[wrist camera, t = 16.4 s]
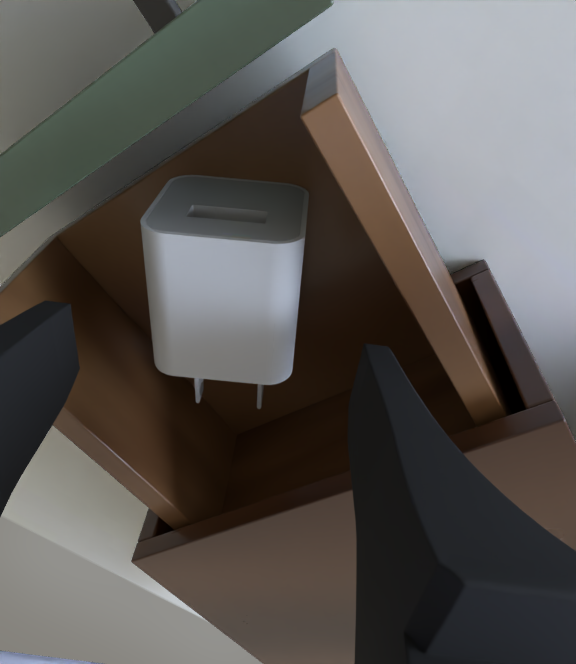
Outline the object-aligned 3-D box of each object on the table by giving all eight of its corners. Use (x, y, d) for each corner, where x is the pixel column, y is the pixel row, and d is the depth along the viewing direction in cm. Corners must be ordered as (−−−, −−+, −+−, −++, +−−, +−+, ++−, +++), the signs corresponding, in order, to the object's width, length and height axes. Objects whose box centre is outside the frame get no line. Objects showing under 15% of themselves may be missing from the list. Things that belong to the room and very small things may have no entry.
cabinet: (185, 394, 23) (129, 562, 17) (484, 258, 19) (565, 419, 12) (342, 561, 30) (345, 727, 23) (591, 493, 25) (679, 677, 19)
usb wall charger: (309, 185, 15) (304, 247, 12) (292, 367, 19) (284, 450, 16) (174, 172, 16) (132, 230, 12) (184, 357, 20) (155, 437, 16)
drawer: (-151, 36, 15) (-397, 77, 10) (186, -323, 11) (55, -573, 6) (225, 438, 23) (196, 570, 18) (496, 328, 19) (555, 461, 14)
